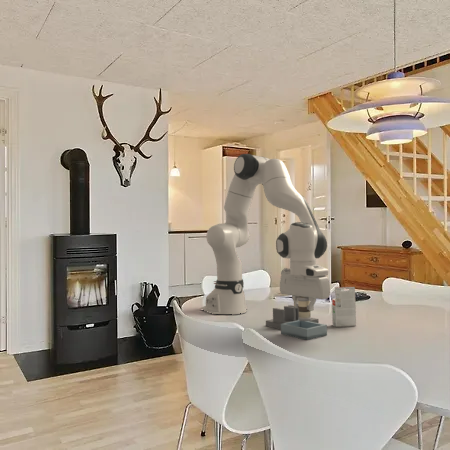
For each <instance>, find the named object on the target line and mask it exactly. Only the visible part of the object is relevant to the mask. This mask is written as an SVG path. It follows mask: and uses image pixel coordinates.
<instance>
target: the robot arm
mask: <svg viewBox="0 0 450 450" xmlns="http://www.w3.org/2000/svg"><path fill="white" fill-rule="evenodd" d="M233 171H234V175H233V177H232V179H231V181H230V185H229V187H228V190H227V191H228V192H227V195H226V198H225V202H224V206H223V209H224V211H225V222H224V223H217V224H215V225H213V226H210V227H209V228H208V229H207V232H206V237H205V238H206V241H207V244H208V245H209V246H210V247H211V249H212V251H213V255H214V257H215V262H216V278H217V279H216V280H214V281H213V284H214V289H213V290H212V291H211V292H210V293H209V294H208V295H207V296H206V297H205V305H204V306H201V307H200V309H203V310H205V311H208V312H211V313H213V314H232V315H241V314H244V313H247V312H246V311H248V306H247V304H246V296H245V295H246V294H245V291H244V290H243V289H244V278H243V263H242V260H241V259H240V258H239V255H238V253H237V252H238V251H237V248H241V247H243V246H244V245H246V244H247V243H248V242H249V240H250V237H251V236H250V234H251V233H250V231H249V228H248V227H249V225H248V222H249V213H250V209H251V206H252V201H253V199H254V195H255V191H256V187H257V186H258V185H262V187H263V192H264V194H265V199H266V201H268V203H270V205H271V206H273V207H275V208H279V209H283V210H285V211H288V212H291V213H293V214H294V215H296V216H297V217H298V219H299V222H298V221H297V222H292V223H291V224H290V226H289V229H288V230H286V231H285V232H281V233H280V234H279V235H278V236H277V238H276V241H275V249H276V252H277V253H278V255H279V256H280V257H281V258H283V259H289V268H287V267H284V268H283V269H282V271H280V280H279V292H280V294H281V295H287V296H291V299H292V301H293V304H294V303H295V308H296V309H298V297H299V296H301V297H309V301H310V303H309V305H307V310H308V311H310V312H313V311H314V305H315V304H316V301H317V300H326V299H328V298H330V297H331V284H330V279H329V277H328V276H329V269H328V268H327V267H324V266H322V265H320V264H318V263H317V261H316V260H317V259H320V258H321V257H322V256H324V254H325V253H326V251H327V248H328V242H327V241H328V240H327V239H326V236H325V235H324V233H323V231H322V230H321V228H320V226H319V225H318V223H317V221H316V218H315V216H314V213H313V212H312V210H311V207H310V205H309V203H308V202H307V199H306V197H305V196H303V195H302V194H301V193H299V192H298V191H297V189H296V188H295V187H294V185H293V183H292V182H293V181H292V179H291V176H290V172H289V170H288V169H287V166H286V164H285V163H284V161H283V160H281V159H279V158H268V157H265V156H260V155H254V154H251V153H242V154H240V155H238V156H237V158H236V159H235V161H234V164H233ZM277 253H276V254H277ZM246 309H247V310H246ZM205 311H204V312H205ZM208 312H207V313H208ZM240 313H241V314H240ZM213 314H212V315H213Z"/></svg>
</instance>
